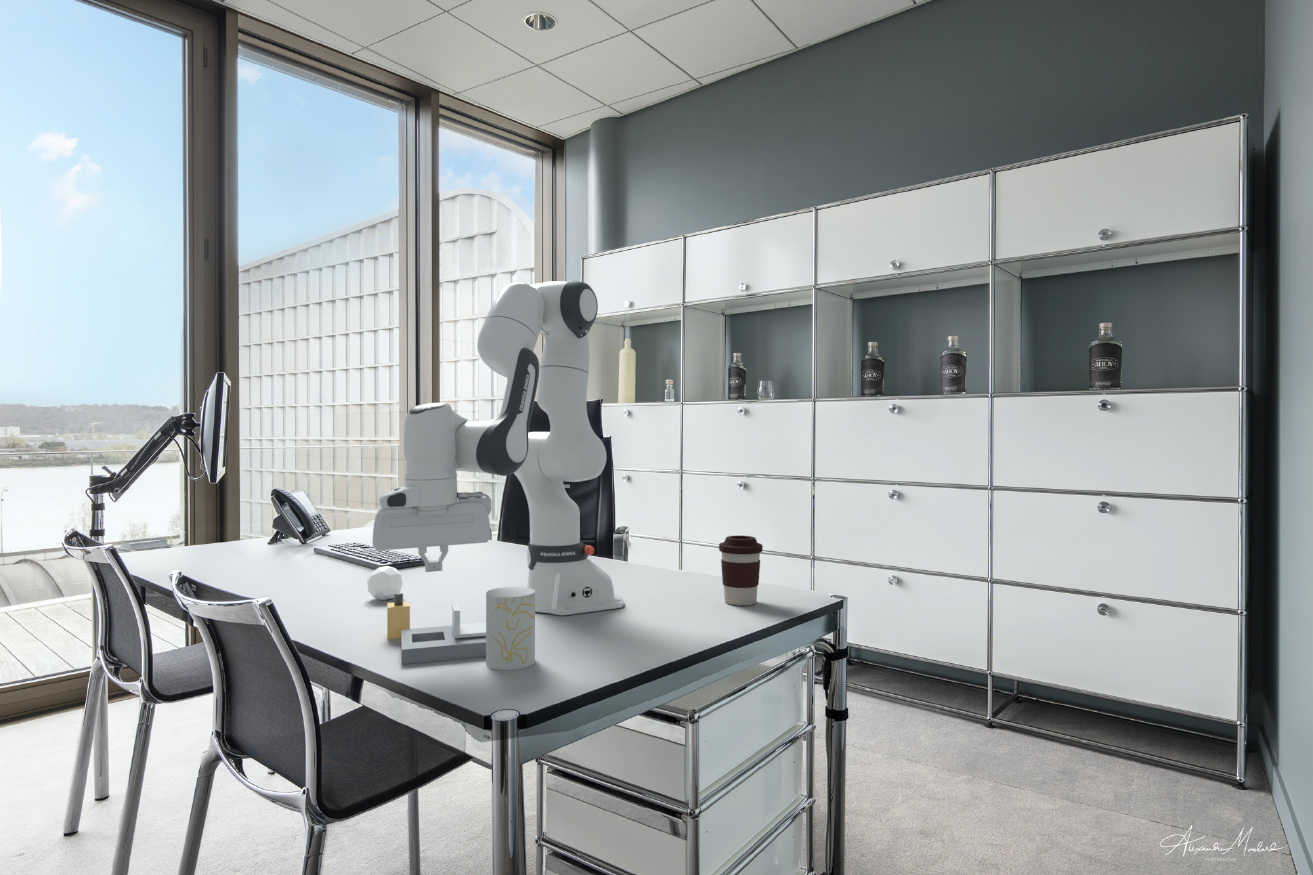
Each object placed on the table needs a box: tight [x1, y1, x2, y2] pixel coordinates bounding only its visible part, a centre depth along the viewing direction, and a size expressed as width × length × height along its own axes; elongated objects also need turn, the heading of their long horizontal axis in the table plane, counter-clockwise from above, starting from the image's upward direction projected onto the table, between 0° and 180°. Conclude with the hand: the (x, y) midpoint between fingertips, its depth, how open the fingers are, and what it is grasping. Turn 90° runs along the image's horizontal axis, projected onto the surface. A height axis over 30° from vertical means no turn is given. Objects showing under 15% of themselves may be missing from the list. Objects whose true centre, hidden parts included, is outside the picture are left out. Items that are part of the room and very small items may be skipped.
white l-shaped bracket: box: [451, 603, 486, 638], centre depth 134 cm, size 7×6×5 cm
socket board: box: [400, 625, 486, 665], centre depth 133 cm, size 13×15×2 cm
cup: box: [485, 586, 536, 671], centre depth 125 cm, size 8×8×12 cm
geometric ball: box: [366, 565, 404, 601], centre depth 171 cm, size 8×8×8 cm
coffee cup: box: [718, 535, 764, 607], centre depth 169 cm, size 10×10×15 cm
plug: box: [386, 592, 411, 641], centre depth 141 cm, size 4×4×8 cm
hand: (433, 571), depth 132 cm, fingers closed
